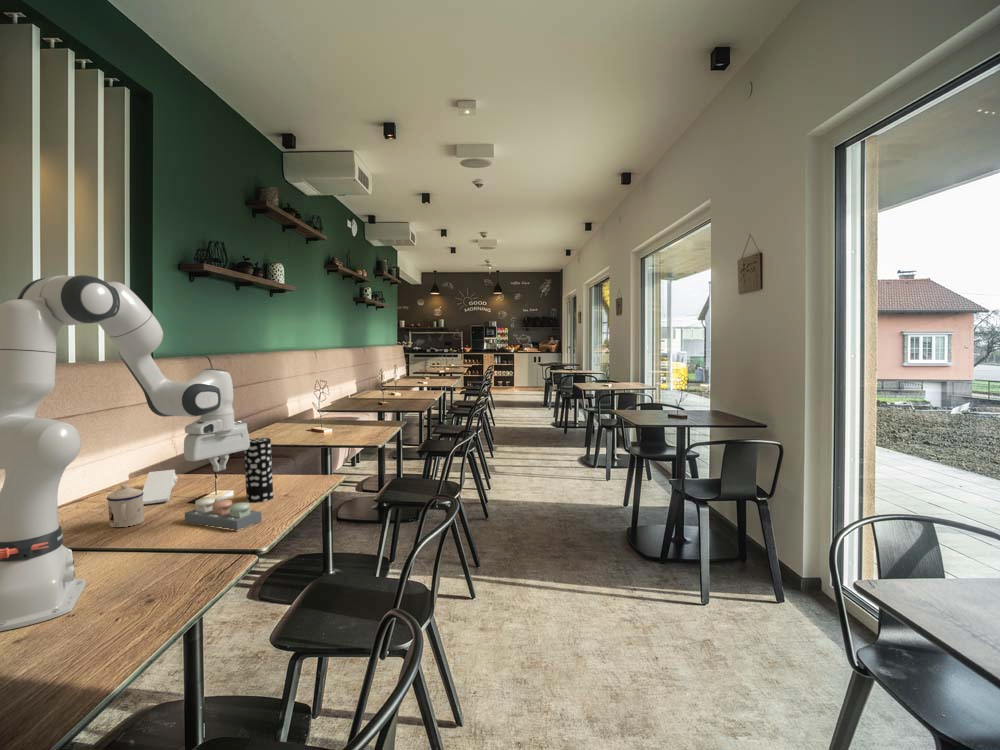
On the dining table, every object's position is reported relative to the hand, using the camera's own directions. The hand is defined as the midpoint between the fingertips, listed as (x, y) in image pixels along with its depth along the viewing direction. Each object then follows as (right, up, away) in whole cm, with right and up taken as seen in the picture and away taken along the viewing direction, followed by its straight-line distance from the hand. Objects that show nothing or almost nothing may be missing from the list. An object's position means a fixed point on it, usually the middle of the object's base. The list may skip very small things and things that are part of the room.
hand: (219, 470), depth 167 cm
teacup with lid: (-28, -16, +1) cm, 32 cm away
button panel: (0, -16, +2) cm, 16 cm away
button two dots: (+7, -15, -1) cm, 16 cm away
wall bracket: (-37, -14, +32) cm, 51 cm away
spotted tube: (+1, -14, +25) cm, 29 cm away
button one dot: (-6, -14, +4) cm, 16 cm away
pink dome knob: (0, -15, +2) cm, 15 cm away
